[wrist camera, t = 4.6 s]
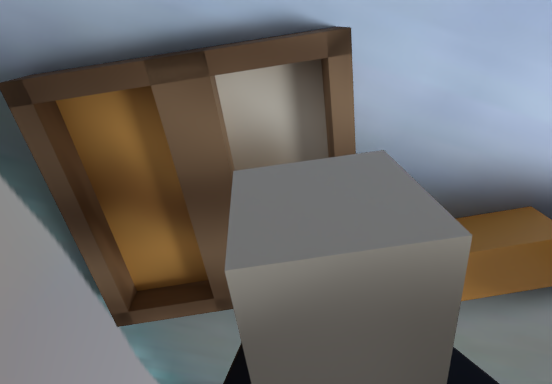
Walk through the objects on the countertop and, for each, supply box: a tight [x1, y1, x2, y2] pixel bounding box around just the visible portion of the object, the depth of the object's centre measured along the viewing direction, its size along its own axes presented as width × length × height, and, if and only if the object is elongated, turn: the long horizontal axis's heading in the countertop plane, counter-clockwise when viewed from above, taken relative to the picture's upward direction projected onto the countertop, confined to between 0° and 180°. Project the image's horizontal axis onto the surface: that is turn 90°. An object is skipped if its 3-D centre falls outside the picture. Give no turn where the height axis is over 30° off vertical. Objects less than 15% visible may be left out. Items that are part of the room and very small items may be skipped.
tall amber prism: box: [456, 206, 552, 301], centre depth 21 cm, size 9×4×4 cm, turn 98°
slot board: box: [0, 27, 356, 327], centre depth 18 cm, size 14×14×2 cm
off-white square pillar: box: [225, 150, 472, 384], centre depth 8 cm, size 9×4×4 cm, turn 7°
